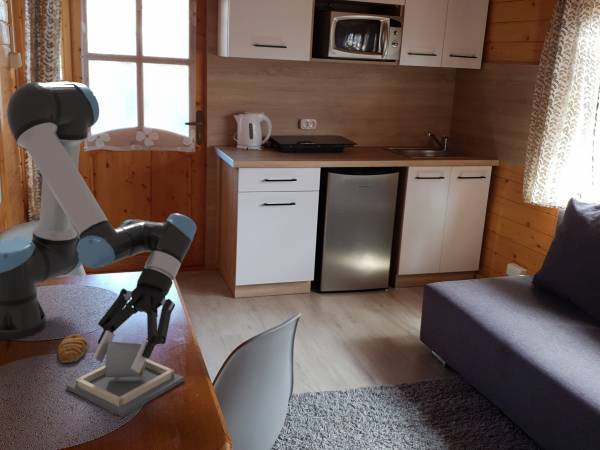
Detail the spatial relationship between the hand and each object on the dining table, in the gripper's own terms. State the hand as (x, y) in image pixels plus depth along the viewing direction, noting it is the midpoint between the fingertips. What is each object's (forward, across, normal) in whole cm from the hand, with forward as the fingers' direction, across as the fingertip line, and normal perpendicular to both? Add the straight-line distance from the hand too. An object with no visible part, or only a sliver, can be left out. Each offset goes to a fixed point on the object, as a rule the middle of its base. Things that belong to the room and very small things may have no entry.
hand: (115, 365), depth 131 cm
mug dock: (+2, 0, -7) cm, 7 cm away
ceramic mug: (0, +1, -6) cm, 6 cm away
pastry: (-2, +21, -11) cm, 23 cm away
